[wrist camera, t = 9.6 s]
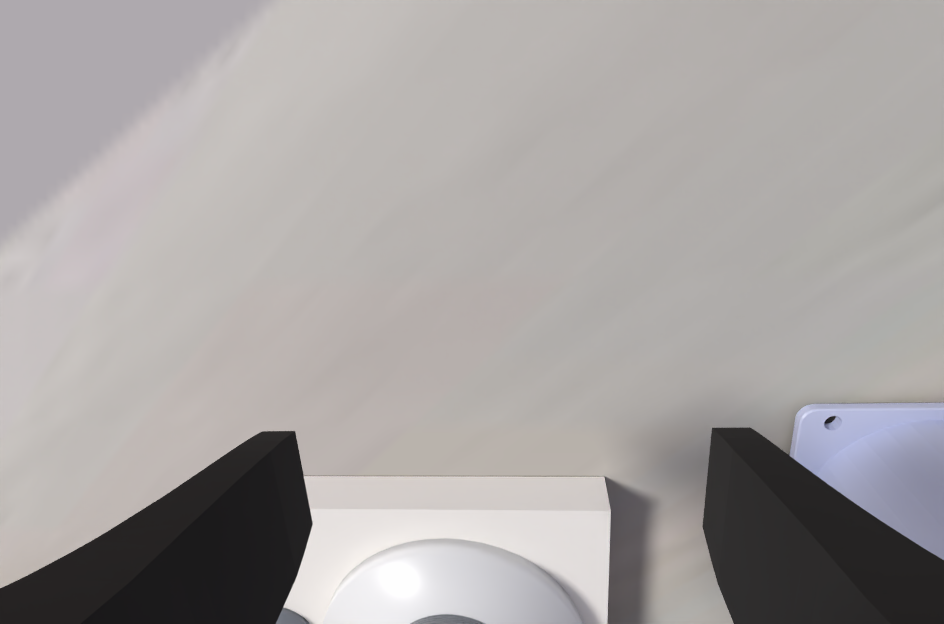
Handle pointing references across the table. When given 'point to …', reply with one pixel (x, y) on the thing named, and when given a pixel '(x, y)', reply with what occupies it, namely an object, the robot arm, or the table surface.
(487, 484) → the kitchen scale
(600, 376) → the table surface
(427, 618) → the cylinder
